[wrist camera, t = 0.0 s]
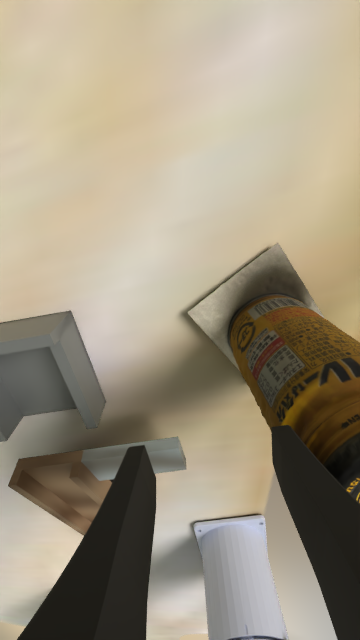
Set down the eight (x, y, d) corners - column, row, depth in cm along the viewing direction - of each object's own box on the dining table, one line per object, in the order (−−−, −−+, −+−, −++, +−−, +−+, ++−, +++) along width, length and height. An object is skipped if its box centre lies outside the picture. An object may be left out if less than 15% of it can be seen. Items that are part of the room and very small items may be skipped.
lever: (203, 508, 29) (206, 536, 27) (97, 521, 30) (92, 549, 28) (177, 436, 19) (179, 472, 17) (18, 459, 20) (3, 496, 18)
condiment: (252, 385, 21) (353, 575, 10) (186, 311, 18) (233, 472, 7) (331, 331, 20) (546, 485, 9) (275, 241, 17) (498, 311, 6)
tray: (106, 401, 22) (94, 435, 19) (16, 414, 23) (-9, 450, 20) (70, 310, 19) (49, 334, 16) (-35, 329, 19) (-76, 355, 16)
